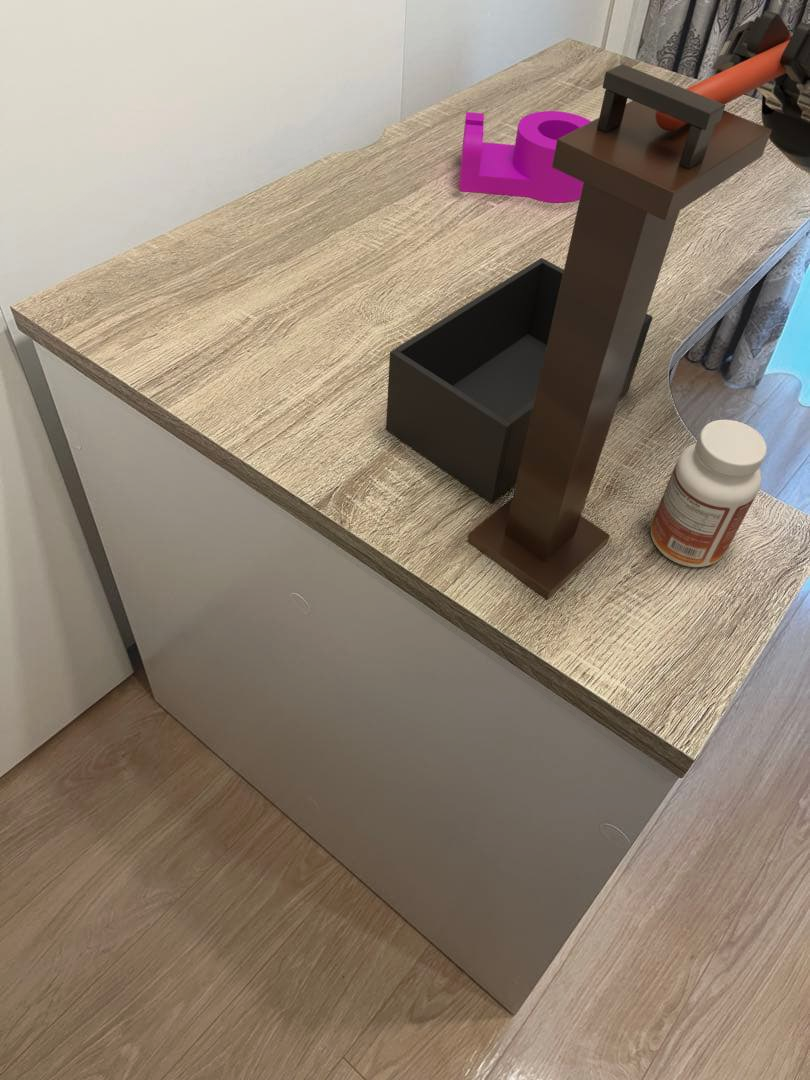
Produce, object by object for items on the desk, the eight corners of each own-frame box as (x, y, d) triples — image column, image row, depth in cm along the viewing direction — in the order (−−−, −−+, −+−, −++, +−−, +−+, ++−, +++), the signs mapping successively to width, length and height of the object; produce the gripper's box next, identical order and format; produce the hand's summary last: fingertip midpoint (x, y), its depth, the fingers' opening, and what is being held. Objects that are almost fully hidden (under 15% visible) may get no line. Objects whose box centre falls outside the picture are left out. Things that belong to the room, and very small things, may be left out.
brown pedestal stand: (550, 472, 74) (668, 28, 47) (628, 523, 71) (802, 77, 44) (467, 541, 68) (547, 83, 42) (547, 600, 65) (689, 144, 38)
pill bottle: (705, 507, 72) (753, 407, 64) (738, 564, 68) (795, 466, 60) (636, 516, 71) (676, 416, 63) (666, 575, 67) (713, 477, 59)
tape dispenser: (587, 165, 109) (598, 114, 104) (592, 206, 103) (605, 154, 98) (461, 154, 109) (467, 103, 104) (459, 194, 103) (464, 141, 98)
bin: (526, 333, 86) (541, 257, 79) (627, 393, 81) (653, 316, 74) (385, 429, 76) (389, 351, 69) (491, 504, 71) (506, 427, 64)
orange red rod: (792, 56, 54) (801, 27, 52) (816, 63, 53) (826, 34, 52) (646, 129, 45) (653, 96, 44) (673, 138, 44) (681, 105, 43)
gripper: (773, 29, 64) (708, -71, 50) (956, 92, 58) (940, 0, 44) (718, 132, 67) (642, 66, 53) (886, 201, 61) (851, 148, 47)
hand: (778, 36), depth 49 cm, fingers closed on orange red rod, 1 cm apart
